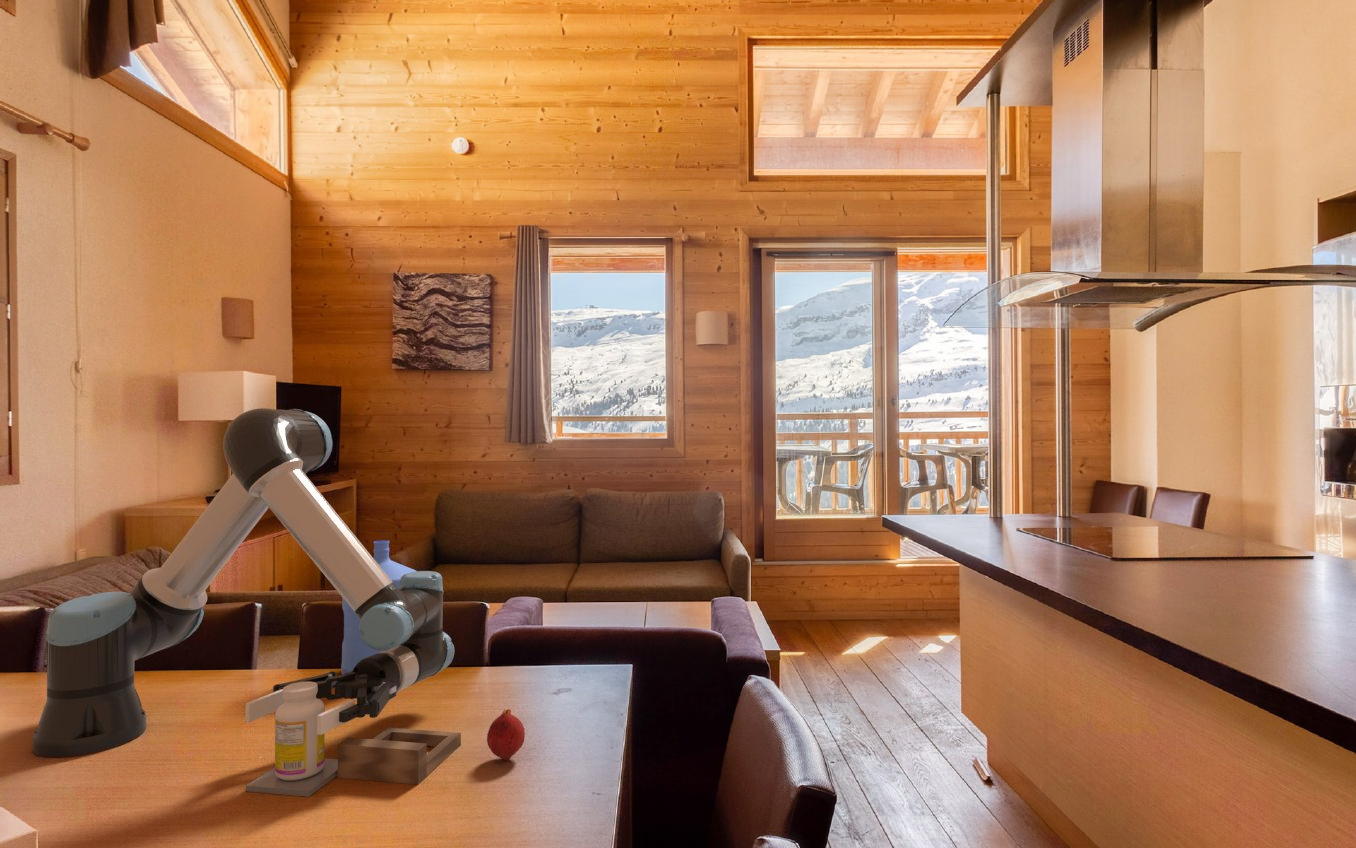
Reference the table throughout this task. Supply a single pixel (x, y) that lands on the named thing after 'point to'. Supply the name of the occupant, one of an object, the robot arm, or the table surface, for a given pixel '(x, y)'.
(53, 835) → the table surface
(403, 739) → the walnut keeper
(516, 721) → the onion
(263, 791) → the slate coaster
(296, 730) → the supplement bottle
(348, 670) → the water jug
